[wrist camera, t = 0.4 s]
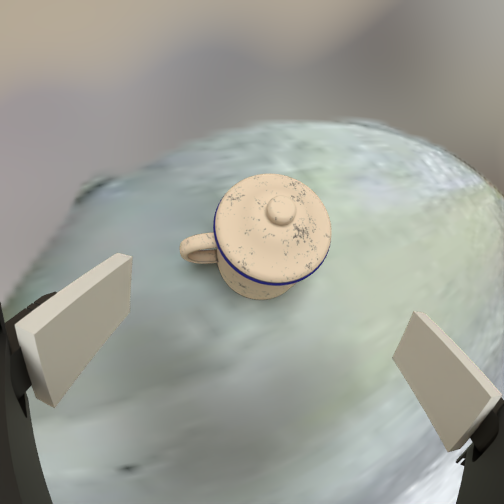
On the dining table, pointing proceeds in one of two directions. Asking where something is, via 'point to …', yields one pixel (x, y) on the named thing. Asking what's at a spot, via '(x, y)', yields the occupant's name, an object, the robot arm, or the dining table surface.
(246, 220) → the teacup with lid
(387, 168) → the dining table surface
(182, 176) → the dining table surface
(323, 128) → the dining table surface
